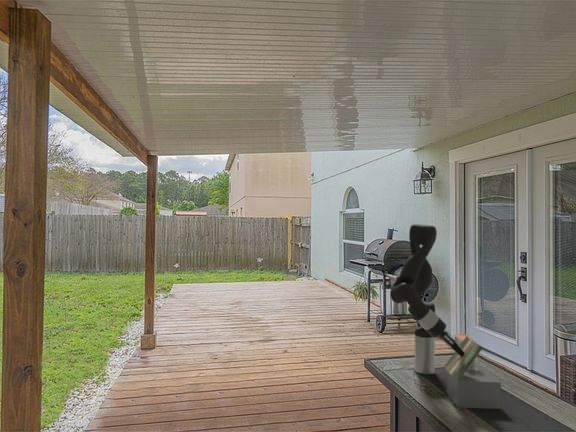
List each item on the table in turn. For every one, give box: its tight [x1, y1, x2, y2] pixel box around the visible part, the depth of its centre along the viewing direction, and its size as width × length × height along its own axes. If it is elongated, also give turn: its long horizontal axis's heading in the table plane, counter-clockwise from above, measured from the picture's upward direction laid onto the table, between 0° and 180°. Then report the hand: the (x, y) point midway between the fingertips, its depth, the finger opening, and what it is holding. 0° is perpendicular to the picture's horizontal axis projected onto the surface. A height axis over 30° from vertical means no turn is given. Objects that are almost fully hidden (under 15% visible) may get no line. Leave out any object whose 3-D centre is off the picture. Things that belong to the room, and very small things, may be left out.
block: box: [446, 369, 502, 410], centre depth 169 cm, size 14×16×10 cm
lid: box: [443, 336, 484, 381], centre depth 170 cm, size 15×16×1 cm
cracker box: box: [454, 333, 476, 370], centre depth 187 cm, size 14×6×21 cm, turn 168°
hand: (462, 354), depth 170 cm, fingers closed
